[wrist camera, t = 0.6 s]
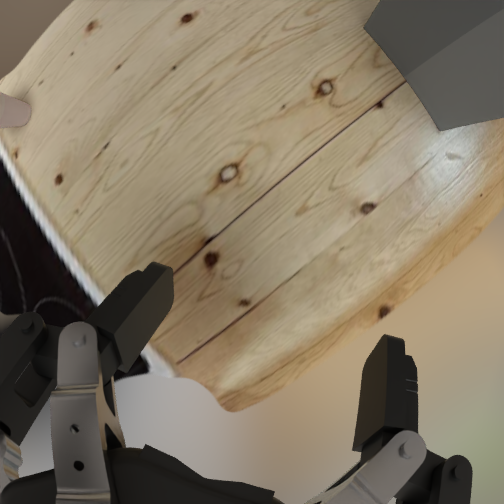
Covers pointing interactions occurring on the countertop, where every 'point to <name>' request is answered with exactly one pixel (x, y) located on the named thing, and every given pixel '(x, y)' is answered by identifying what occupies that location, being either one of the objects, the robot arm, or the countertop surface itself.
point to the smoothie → (13, 112)
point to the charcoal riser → (446, 55)
